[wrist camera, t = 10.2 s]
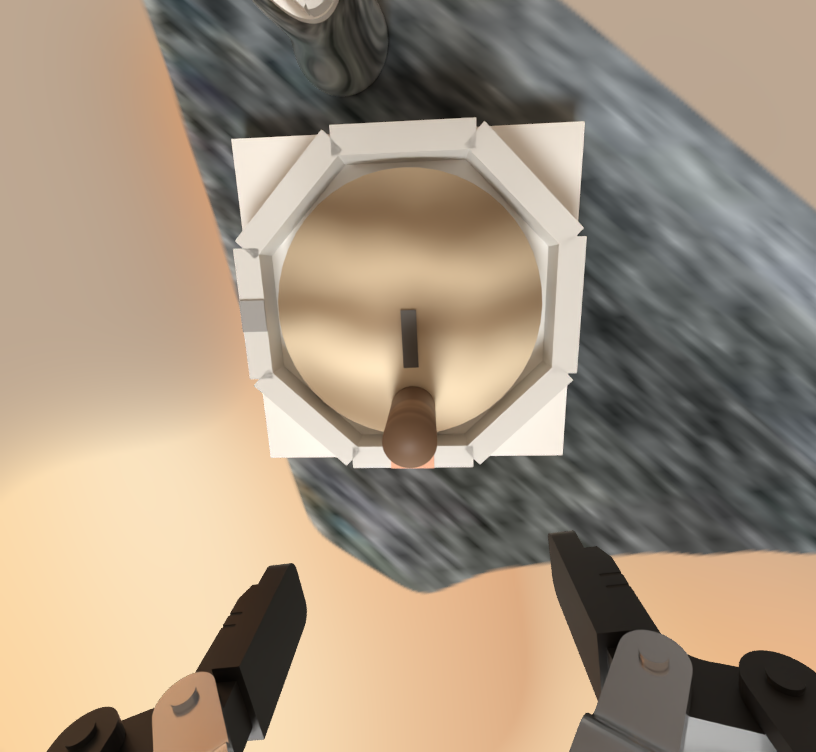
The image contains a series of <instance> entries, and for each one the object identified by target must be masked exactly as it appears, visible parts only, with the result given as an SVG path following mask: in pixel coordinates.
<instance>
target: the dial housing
mask: <svg viewBox="0 0 816 752" xmlns="http://www.w3.org/2000/svg"><path fill="white" fill-rule="evenodd" d="M584 127H585V121H581V122H561V123H541V124H521V125H501V126H489V125H488V124H487V123H486V122H485V121H484V122H483V123H482V124H481V125H480V127H476V117H474V118H454V119H435V120H416V121H396V122H377V123H358V124H338V125H329V128H330V134H326V133H325V132H324V131H323V130H322V129H321V131H320V132H319V133H318V134H317V135H303V136H284V137H264V138H244V139H231V140H232V148H233V156H234V164H235V172H236V180H237V188H238V197H239V205H240V213H241V221H242V229H243V231H242V233H241V234H240V235H239V236H238V238H237V239H236V240H235V241H236V242H237V243H238V244H239V245H240V246H241V247H242V248H243V249H233V252H234V260H235V268H236V275H237V283H238V291H239V298H240V301H239V305H240V313H241V320H242V328H243V332H244V337H245V344H246V352H247V360H248V367H249V374H250V379H259V380H258V381H257V383H256V384H255V385H254V386H255V387H256V388H257V389H258V390H259V391H260V392H262V393H263V398H264V407H265V414H266V423H267V431H268V439H269V447H270V455H271V458H273V457H337V458H339V459H340V460H341V461H342V462H343V463H344V464H346V465H347V464H348V463H349V462H350V461H351V460H352V459H353V468H404V467H400V466H398V465H396V464H394V463H393V462H392V461H390V460H389V459H388V457H387V456H386V454H385V453H384V450H383V447H382V437H383V433H384V432H382V431H379V430H375V429H372V428H368V427H366V426H363V425H361V424H358V423H356V422H354V421H352V420H350V419H348V418H346V417H345V416H343V415H341V414H339V413H338V412H337V411H335V410H334V409H333V408H331V407H330V406H328V405H327V404H326V403H325V402H324V401H323V400H322V399H321V398H319V397H318V396H317V395H316V394H315V393H314V392H313V390H312V389H311V388H310V387H309V386H308V384H307V383H306V382H305V381H304V379H303V378H302V376H301V375H300V373H299V372H298V370H297V368H296V367H295V365H294V363H293V361H292V359H291V357H290V354H289V352H288V350H287V347H286V344H285V341H284V338H283V335H282V330H281V325H280V320H279V308H278V294H279V281H280V276H281V271H282V266H283V263H284V260H285V257H286V254H287V251H288V248H289V246H290V244H291V242H292V240H293V238H294V236H295V234H296V232H297V231H298V229H299V228H300V226H301V225H302V223H303V222H304V220H305V219H306V218H307V217H308V215H309V214H310V213H311V212H312V211H313V210H314V209H315V208H316V206H317V205H318V204H319V203H321V202H322V201H323V200H324V199H325V198H326V197H328V196H329V195H330V194H331V193H332V192H334V191H336V190H337V189H339V188H340V187H342V186H343V185H345V184H346V183H348V182H350V181H353V180H355V179H357V178H359V177H361V176H364V175H367V174H370V173H374V172H377V171H380V170H386V169H393V168H400V167H420V168H427V169H434V170H439V171H443V172H446V173H449V174H453V175H456V176H458V177H460V178H463V179H465V180H467V181H469V182H471V183H473V184H475V185H476V186H478V187H480V188H481V189H483V190H484V191H486V192H487V193H489V194H490V195H491V196H492V197H493V198H495V199H496V200H497V201H498V202H499V203H500V204H501V205H503V206H504V208H505V209H506V210H507V211H508V212H509V213H510V214H511V216H512V217H513V218H514V219H515V220H516V222H517V223H518V225H519V227H520V228H521V230H522V231H523V233H524V234H525V236H526V238H527V240H528V242H529V244H530V247H531V249H532V251H533V253H534V257H535V260H536V263H537V266H538V269H539V275H540V281H541V287H542V313H541V323H540V327H539V332H538V336H537V340H536V343H535V346H534V348H533V351H532V354H531V356H530V358H529V360H528V362H527V364H526V366H525V368H524V370H523V372H522V373H521V374H520V376H519V377H518V379H517V380H516V382H515V383H514V384H513V386H512V387H511V388H510V389H509V390H508V391H507V392H506V393H505V395H504V396H503V397H502V398H501V399H499V400H498V401H497V402H496V403H495V404H494V405H492V406H491V407H490V408H489V409H487V410H486V411H484V412H483V413H481V414H480V415H478V416H477V417H475V418H473V419H471V420H469V421H467V422H465V423H463V424H461V425H458V426H455V427H452V428H449V429H447V430H442V431H438V432H437V449H436V452H435V454H434V456H433V457H432V459H431V460H430V461H429V462H427V463H426V464H424V465H422V466H420V467H416V468H434V467H473V459H475V460H476V461H477V462H478V463H479V464H481V463H482V462H483V461H484V460H485V459H486V458H488V457H489V456H512V455H562V453H563V438H564V424H565V409H566V394H567V385H568V384H569V383H570V382H572V381H573V379H572V378H571V377H570V376H569V375H568V373H577V362H578V349H579V335H580V321H581V308H582V294H583V280H584V266H585V253H586V239H587V236H578V237H577V235H578V234H579V233H580V232H581V231H582V230H583V229H584V228H583V226H582V225H581V224H580V223H579V222H578V216H579V201H580V186H581V171H582V157H583V142H584Z"/></svg>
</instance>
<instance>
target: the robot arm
mask: <svg viewBox="0 0 816 752" xmlns="http://www.w3.org/2000/svg"><path fill="white" fill-rule="evenodd" d="M548 542H549V551H550V560H551V569H552V577H553V583H554V587H555V591H556V595H557V598H558V601H559V603H560V606H561V609H562V611H563V614H564V616H565V619H566V621H567V624H568V626H569V629H570V631H571V634H572V636H573V639H574V642H575V644H576V646H577V649H578V651H579V654H580V657H581V659H582V662H583V664H584V667H585V669H586V672H587V675H588V677H589V680H590V682H591V685H592V687H593V690H594V692H595V695H596V697H597V700H598V703H597V706H596V709H595V711H594V713H593V714H592V715H591V714H590V713H586V714H585V715H584V716H583V718H582V719H581V722H580V724H579V727H578V729H577V732H576V735H575V737H574V740H573V743H572V746H571V748H570V751H569V752H816V673H815V672H814V671H813V670H812V669H810V668H809V667H807V666H806V665H804V664H803V663H801V662H799V661H797V660H795V659H793V658H791V657H788V656H786V655H783V654H780V653H776V652H771V651H763V650H759V651H752V652H749V653H747V654H745V655H744V656H743V657H742V658H741V660H740V662H739V667H735V666H730V665H725V664H720V663H714V662H708V661H705V660H701V659H698V658H695V657H692V656H690V655H688V654H687V653H686V652H685V651H684V650H683V648H682V647H681V646H679V645H678V644H677V643H676V642H675V641H673V640H672V639H670V638H668V637H667V636H665V635H662V634H661V633H660V632H659V630H658V629H657V627H656V625H655V624H654V622H653V621H652V619H651V618H650V616H649V615H648V613H647V612H646V610H645V608H644V607H643V605H642V604H641V602H640V601H639V599H638V597H637V596H636V594H635V593H634V591H633V590H632V588H631V587H630V586H629V584H628V582H627V581H626V579H625V577H624V576H623V575H622V574H621V571H620V570H619V568H618V566H617V565H616V563H615V562H614V560H613V559H612V557H611V556H609V555H608V554H606V553H605V552H604V551H602V550H601V549H600V548H598V547H597V546H595V547H586V548H584V547H583V545H582V543H581V542H580V540H579V538H578V536H577V534H576V533H575V531H573V530H572V531H564V532H556V533H549V534H548ZM306 616H307V607H306V601H305V598H304V594H303V591H302V587H301V583H300V580H299V576H298V572H297V569H296V567H295V565H294V564H292V563H289V564H281V565H273V566H269V567H268V568H267V570H266V571H265V573H264V575H263V576H262V578H261V580H260V582H259V584H257V585H252V586H251V587H250V588H249V589H248V590H247V591H246V592H245V593H244V594H243V595H242V596H241V597H240V598H239V599H238V601H237V602H236V604H235V606H234V608H233V609H232V611H231V613H230V616H228V618H227V619H226V621H225V623H224V624H223V628H221V630H220V631H219V633H218V635H217V636H216V638H215V640H214V642H213V643H212V645H211V647H210V648H209V650H208V652H207V653H206V655H205V657H204V658H203V660H202V662H201V664H200V665H199V667H198V669H197V670H196V672H195V673H193V674H190V675H188V676H186V677H184V678H182V679H181V680H179V681H178V682H176V683H175V684H174V685H172V686H171V687H170V688H169V689H168V690H167V691H166V692H165V693H164V694H163V695H162V697H161V698H160V699H159V701H158V703H157V704H156V706H155V708H153V709H150V710H148V711H145V712H143V713H140V714H138V715H135V716H132V717H130V718H127V719H125V720H122V721H121V719H120V717H119V715H118V712H117V711H116V710H115V709H114V708H112V707H102V708H98V709H95V710H93V711H91V712H89V713H87V714H85V715H84V716H82V717H80V718H79V719H78V720H76V721H75V722H73V723H72V724H71V725H70V726H69V727H67V728H66V729H65V730H64V731H63V732H62V733H61V734H60V735H59V736H58V738H57V739H56V740H55V741H54V743H53V744H52V745H51V747H50V748H49V749H48V750H47V752H243V750H244V748H245V746H246V743H247V741H251V740H263V739H265V736H266V733H267V730H268V727H269V725H270V721H271V719H272V716H273V713H274V710H275V708H276V705H277V702H278V699H279V697H280V694H281V691H282V688H283V685H284V682H285V680H286V677H287V674H288V671H289V669H290V666H291V663H292V660H293V657H294V655H295V652H296V649H297V646H298V643H299V640H300V637H301V635H302V632H303V629H304V626H305V623H306Z"/></svg>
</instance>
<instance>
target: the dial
mask: <svg viewBox="0 0 816 752" xmlns="http://www.w3.org/2000/svg"><path fill="white" fill-rule="evenodd" d="M278 308H279V320H280V325H281V330H282V335H283V338H284V341H285V344H286V347H287V350H288V352H289V354H290V357H291V359H292V361H293V363H294V365H295V367H296V368H297V370H298V372H299V373H300V375H301V376H302V378H303V379H304V381H305V382H306V383H307V384H308V386H309V387H310V388H311V389H312V390H313V392H314V393H315V394H316V395H317V396H318V397H319V398H321V399H322V400H323V401H324V402H325V403H326V404H327V405H328V406H330V407H331V408H333V409H334V410H335V411H337V412H338V413H339V414H341V415H343V416H345V417H346V418H348V419H350V420H352V421H354V422H356V423H358V424H361V425H363V426H366V427H368V428H372V429H375V430H379V431H382V432H384V433H383V437H382V447H383V450H384V453H385V454H386V456H387V457H388V459H389V460H390V461H392V462H393V463H394V464H396V465H398V466H400V467H404V468H416V467H420V466H422V465H424V464H426V463H427V462H429V461H430V460H431V459H432V457H433V456H434V454H435V452H436V449H437V432H438V431H442V430H447V429H449V428H452V427H455V426H458V425H461V424H463V423H465V422H467V421H469V420H471V419H473V418H475V417H477V416H478V415H480V414H481V413H483V412H484V411H486V410H487V409H489V408H490V407H491V406H492V405H494V404H495V403H496V402H497V401H498V400H499V399H501V398H502V397H503V396H504V395H505V393H506V392H507V391H508V390H509V389H510V388H511V387H512V386H513V384H514V383H515V382H516V380H517V379H518V377H519V376H520V374H521V373H522V372H523V370H524V368H525V366H526V364H527V362H528V360H529V358H530V356H531V354H532V351H533V348H534V346H535V343H536V340H537V336H538V332H539V327H540V323H541V313H542V287H541V281H540V275H539V269H538V266H537V263H536V260H535V257H534V253H533V251H532V249H531V247H530V244H529V242H528V240H527V238H526V236H525V234H524V233H523V231H522V230H521V228H520V227H519V225H518V223H517V222H516V220H515V219H514V218H513V217H512V216H511V214H510V213H509V212H508V211H507V210H506V209H505V208H504V206H503V205H501V204H500V203H499V202H498V201H497V200H496V199H495V198H493V197H492V196H491V195H490V194H489V193H487V192H486V191H484V190H483V189H481V188H480V187H478V186H476V185H475V184H473V183H471V182H469V181H467V180H465V179H463V178H460V177H458V176H456V175H453V174H449V173H446V172H443V171H439V170H434V169H427V168H420V167H400V168H393V169H386V170H380V171H377V172H374V173H370V174H367V175H364V176H361V177H359V178H357V179H355V180H353V181H350V182H348V183H346V184H345V185H343V186H342V187H340V188H339V189H337V190H336V191H334V192H332V193H331V194H330V195H329V196H328V197H326V198H325V199H324V200H323V201H322V202H321V203H319V204H318V205H317V206H316V208H315V209H314V210H313V211H312V212H311V213H310V214H309V215H308V217H307V218H306V219H305V220H304V222H303V223H302V225H301V226H300V228H299V229H298V231H297V232H296V234H295V236H294V238H293V240H292V242H291V244H290V246H289V248H288V251H287V254H286V257H285V260H284V263H283V266H282V271H281V276H280V281H279V294H278Z"/></svg>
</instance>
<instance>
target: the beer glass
mask: <svg viewBox="0 0 816 752" xmlns="http://www.w3.org/2000/svg"><path fill="white" fill-rule="evenodd" d="M252 2H253V3H254V4H255V5H256V6H257V7H258V8H259V9H260V10H261V11H262V12H263V13H264V14H265V15H266V16H267V17H268V18H269V19H270V20H271V21H272V22H273V23H274V24H275V25H277V26H278V27H279V28H280V29H281V30H282V31H283V32H284V33H285V34H286V35H287V36H288V37H289V38H290V40H291V43H292V47H293V51H294V55H295V57H296V60H297V63H298V65H299V67H300V69H301V71H302V72H303V74H304V75H305V77H306V78H307V79H308V80H309V82H310V83H311V84H312V85H314V86H315V87H316V88H318V89H319V90H321V91H323V92H325V93H327V94H330V95H333V96H351V95H354V94H357V93H359V92H361V91H363V90H365V89H366V88H368V87H369V86H370V85H371V84H372V83H373V82H374V81H375V80H376V78H377V77H378V75H379V74H380V72H381V70H382V68H383V66H384V63H385V60H386V56H387V51H388V31H387V26H386V22H385V18H384V16H383V13H382V11H381V8H380V6H379V4H378V2H377V0H252Z"/></svg>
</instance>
